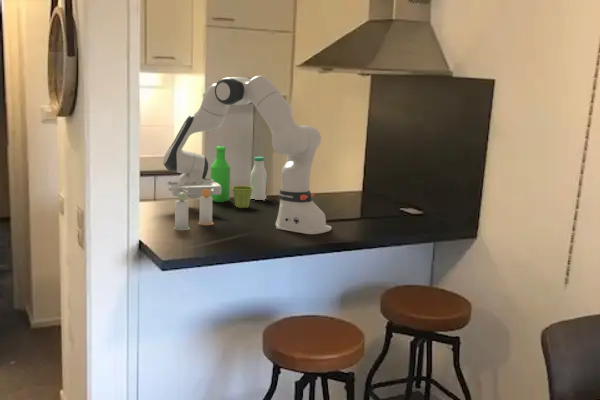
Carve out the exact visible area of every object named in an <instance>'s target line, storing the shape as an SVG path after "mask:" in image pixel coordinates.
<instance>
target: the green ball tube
mask: <svg viewBox="0 0 600 400" xmlns="http://www.w3.org/2000/svg"><path fill="white" fill-rule="evenodd" d="M176 199H177V200H175V201H174V214H175V215H174V227H175V229H178V230H177V231H186V230H185V229H188V227H189V204H190V203H189V200H187V199H188V197H187V196H186V194H185V193H183V192H180V193H179V194H178V195H177V196H176ZM175 229H174V230H175ZM188 230H189V229H188Z"/></svg>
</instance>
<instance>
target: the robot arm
mask: <svg viewBox="0 0 600 400" xmlns="http://www.w3.org/2000/svg"><path fill="white" fill-rule="evenodd" d="M233 105H234V106H245V105H254V107H255V108H256V110H257V111H258V113H259V114H260V115H261V117H262V119H263V121H264V122H265V123H266V125H267V127H268V128H269V131H270V133H271V146H272V148H273V150H274V151H275V152H276V153H277V154H279V155H282V156H286V161H285V163H284V165H283V166H282V168H281V173H280V174H281V178H280V180H281V181H280V189H279V193H278V194H279V196H278V197H279V198H278V199H279V208H278V213H277V218H276V220H275V224H274V225H275V226H276V227H275V228H276V229H277V230H283V231H289V232H293V233H300V234H304V235H305V234H306V235H319V234H324V233H327V232H330V231H331V230H332V226H331V225H328V224H327V223H326V222H327V220H326V219H327V218H326V215H325V212H324V211H323V210H321V209H320V207H318V205H317V204H316V203H315V202H314V201H313V198H314V197H315V195H316V194H315V193H311V190H310V181H311V169H312V165H313V161H314V158H315V156H316V155H315V154H316V151H317V150H318V148H319V146H320V144H321V142H322V137H321V136H322V135H321V133H320V131H319V130H318V129H317V128H316V127H313V126H312V125H307V124H301V125H298V124H297V123H296V122H295V121H294V118H293V115H292V110H293V109H292V107H291V105H290V104H289V103H288V102H287V100H286V99H285V98H284V96H283V95H282V93H281V92H280V91H279V89H278V88H277V87H276V86H275V85H274V84H273V82H272V81H271V80H269V79H268V78H267V77H266V76H264V75H256V76H254V77H242V76H233V77H229V76H228V77H224V78H221V79H219V80H218V81H217V83H212V85H210V86H209V88H208V90H207V91H206V92H205V95H204V96H203V99H202V101H201V105H200V107H199V109H198V110H197V111H196V112H195V113H194V114H191V115H189V116H188V117H187V118H186V119H185V121H184V122H183V124H182V125H181V127H180V129H179V131H178V133H177V135H176V137H175V138H174V140H173V142H172V143H171V145H170V146H169V148H168V150H167V151H166V153H165V154H164V156H163V161H162V162H163V165H164V168H165V169H166V170H167V171H168V172H173V173H180V175H179V177H178V178H177V184H172V185H171V187H169V188H168V191H169V192H170V191H171V196H173V197H177V195H178V194H179V193H180V192H183V193H185V194H186V196H187V198H189V199H198V198H200V197H203V196H202V190H204V189H209V190H210V192H211V194H210V195H220V194H221V191H222V188H221V185H220V184H218V183H217V182H214V180H212V179H211V178H206V177H207V174H208V171H209V162H208V159H207V157H206V156H205V154H200V153H197V152H192V151H188V150H184V149H183V148H184V147H185V145H186V143H187V141H188V139H189V137H190V136H192V135H193V134H197V133H202V132H210V131H215V130H217V129H219V128H221V127H222V125H223V124H224V122H225V120H226V117H227V114H228V112H229V109H230V106H233Z"/></svg>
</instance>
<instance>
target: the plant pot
mask: <svg viewBox="0 0 600 400" xmlns="http://www.w3.org/2000/svg"><path fill="white" fill-rule="evenodd" d="M252 189H253V187H250V185H249V186H248V185H234V186H232V187H231V190H232V193H233V201H234V207H235V206H236V208H237V207H238V208H237V209H243V208H246V209H247V208H249V207H250V201H251V199H250V196H251V192H252Z"/></svg>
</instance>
